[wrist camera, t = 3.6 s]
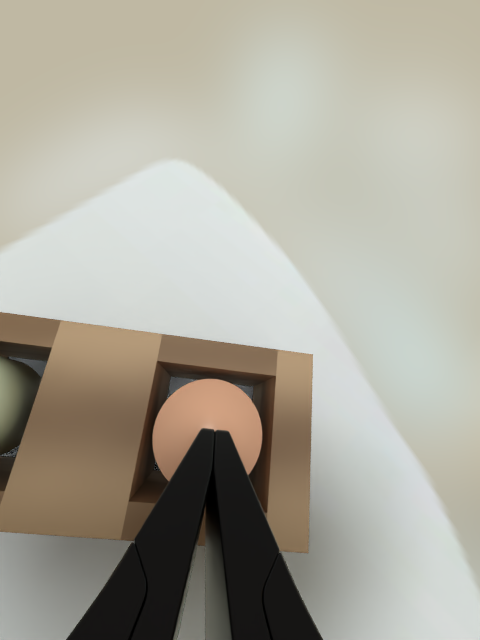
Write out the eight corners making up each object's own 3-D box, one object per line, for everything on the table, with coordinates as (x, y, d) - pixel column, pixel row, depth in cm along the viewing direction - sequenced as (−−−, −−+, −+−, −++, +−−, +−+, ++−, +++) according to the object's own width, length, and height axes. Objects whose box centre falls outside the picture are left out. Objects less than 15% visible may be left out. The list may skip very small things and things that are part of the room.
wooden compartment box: (272, 504, 17) (308, 553, 11) (-74, 475, 15) (-240, 514, 9) (280, 371, 19) (312, 354, 14) (-14, 333, 18) (-117, 296, 12)
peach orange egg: (240, 473, 16) (257, 501, 11) (160, 466, 15) (141, 491, 10) (248, 392, 17) (266, 385, 12) (174, 383, 17) (164, 372, 12)
